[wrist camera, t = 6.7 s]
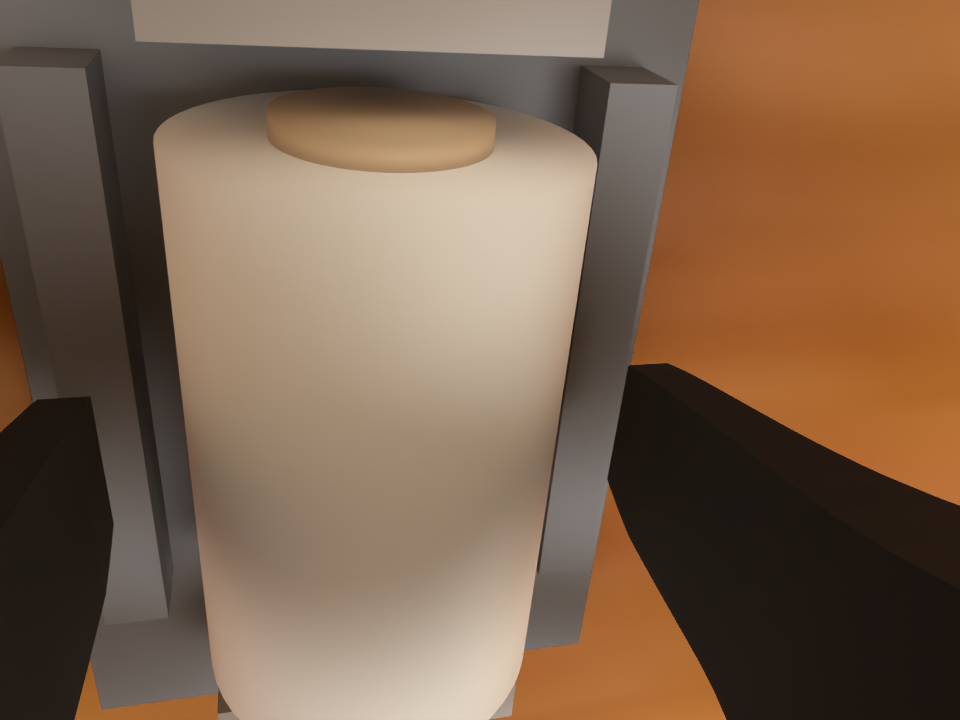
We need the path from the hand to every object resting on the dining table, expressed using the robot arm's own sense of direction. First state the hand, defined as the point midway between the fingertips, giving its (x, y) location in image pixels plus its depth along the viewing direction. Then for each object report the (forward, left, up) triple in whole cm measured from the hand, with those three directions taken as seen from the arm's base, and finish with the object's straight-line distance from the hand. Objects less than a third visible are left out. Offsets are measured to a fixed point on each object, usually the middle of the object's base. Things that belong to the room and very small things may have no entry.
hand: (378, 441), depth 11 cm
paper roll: (0, 0, -3) cm, 3 cm away
